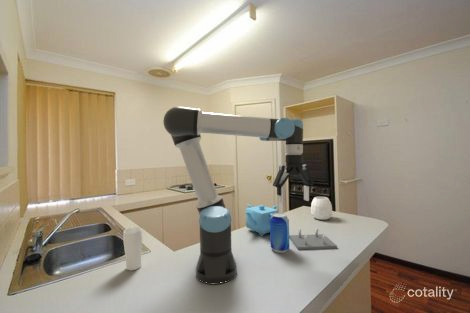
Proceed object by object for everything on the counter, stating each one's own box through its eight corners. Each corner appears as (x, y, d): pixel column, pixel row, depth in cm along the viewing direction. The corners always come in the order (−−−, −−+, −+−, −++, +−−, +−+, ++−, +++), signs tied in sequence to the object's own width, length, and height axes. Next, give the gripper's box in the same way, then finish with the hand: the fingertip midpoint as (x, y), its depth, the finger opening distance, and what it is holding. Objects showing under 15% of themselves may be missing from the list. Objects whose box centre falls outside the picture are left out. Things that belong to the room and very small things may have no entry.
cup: (330, 222, 134) (330, 201, 134) (308, 219, 141) (308, 198, 141) (334, 217, 145) (333, 197, 145) (313, 214, 152) (313, 195, 152)
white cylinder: (125, 265, 88) (123, 228, 88) (143, 261, 91) (142, 226, 90) (123, 274, 82) (122, 234, 81) (143, 269, 84) (142, 231, 84)
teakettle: (279, 238, 112) (278, 210, 111) (242, 236, 115) (242, 209, 115) (278, 226, 130) (278, 201, 130) (247, 225, 133) (246, 201, 133)
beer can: (291, 248, 100) (291, 213, 100) (285, 255, 93) (285, 218, 93) (274, 244, 105) (274, 211, 105) (267, 251, 98) (266, 215, 98)
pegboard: (298, 249, 98) (297, 238, 98) (289, 237, 112) (289, 227, 112) (337, 248, 99) (336, 237, 99) (323, 236, 113) (323, 226, 113)
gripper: (274, 154, 89) (273, 205, 90) (322, 154, 98) (322, 201, 98) (265, 154, 96) (265, 201, 97) (311, 154, 105) (310, 197, 105)
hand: (293, 201), depth 98 cm, fingers open, 13 cm apart
